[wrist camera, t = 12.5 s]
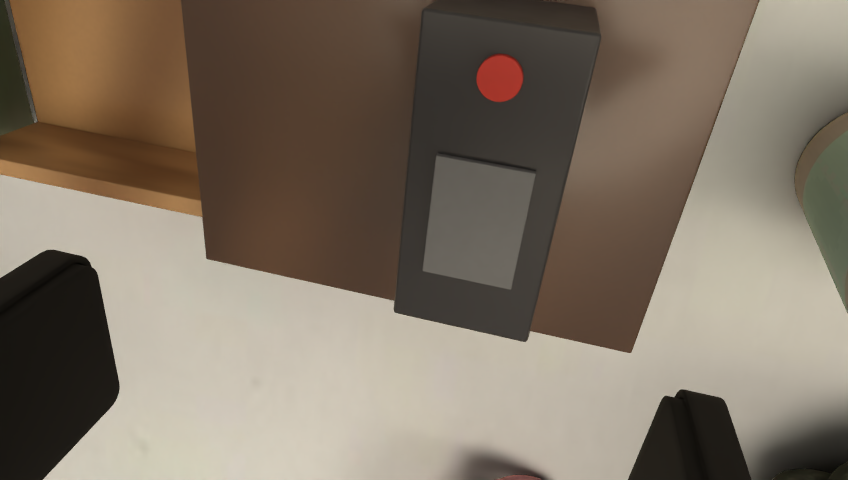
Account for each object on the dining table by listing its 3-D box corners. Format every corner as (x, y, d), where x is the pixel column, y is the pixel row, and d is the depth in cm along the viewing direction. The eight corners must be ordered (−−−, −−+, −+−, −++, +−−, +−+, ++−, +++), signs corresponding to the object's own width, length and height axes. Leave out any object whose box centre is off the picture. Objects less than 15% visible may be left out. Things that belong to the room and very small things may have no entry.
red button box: (424, 245, 22) (390, 317, 18) (454, -13, 18) (418, 8, 14) (536, 269, 21) (526, 348, 17) (597, 7, 17) (603, 35, 13)
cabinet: (283, 188, 31) (205, 259, 25) (276, -136, 24) (164, -154, 17) (619, 255, 29) (631, 354, 22) (726, -84, 21) (791, -84, 15)
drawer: (-49, 120, 33) (-159, 156, 28) (-139, -167, 26) (-305, -187, 21) (299, 189, 30) (244, 243, 25) (298, -116, 23) (222, -124, 18)
